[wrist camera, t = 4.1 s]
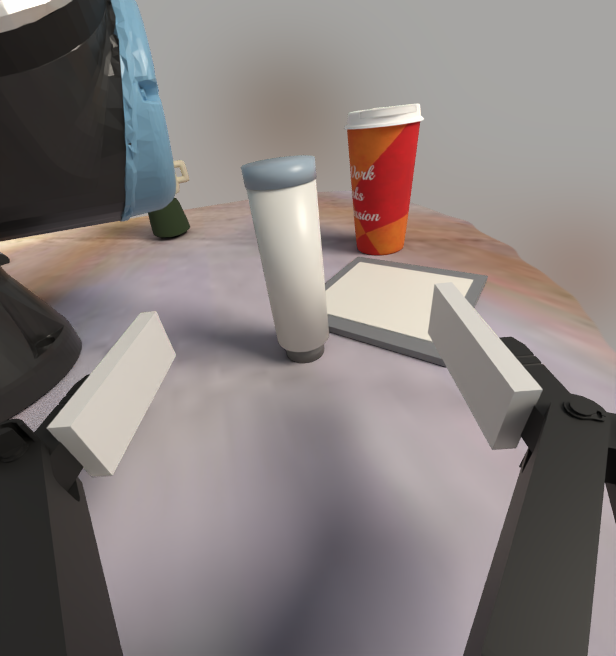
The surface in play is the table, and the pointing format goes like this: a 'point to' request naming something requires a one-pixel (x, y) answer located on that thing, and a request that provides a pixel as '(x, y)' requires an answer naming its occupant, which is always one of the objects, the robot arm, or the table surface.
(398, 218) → the coffee cup
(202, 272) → the table surface
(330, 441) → the table surface
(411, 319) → the writing board
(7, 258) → the marker
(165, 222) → the character mug
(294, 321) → the thick grey marker
